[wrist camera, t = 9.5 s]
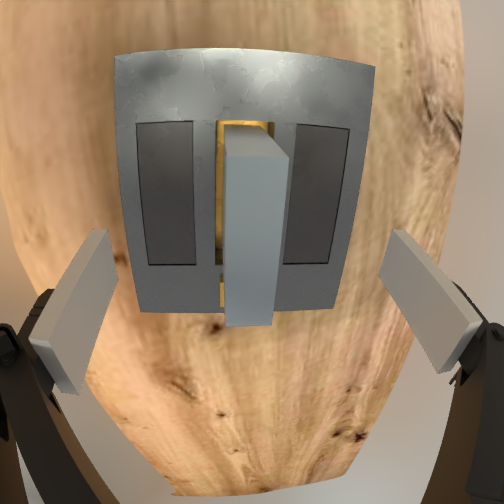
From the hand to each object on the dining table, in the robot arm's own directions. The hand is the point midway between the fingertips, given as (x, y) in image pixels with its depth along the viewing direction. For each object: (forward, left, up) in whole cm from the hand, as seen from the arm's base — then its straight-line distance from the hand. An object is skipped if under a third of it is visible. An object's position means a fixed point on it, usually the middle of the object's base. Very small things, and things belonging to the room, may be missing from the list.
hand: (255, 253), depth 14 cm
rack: (0, 0, -11) cm, 11 cm away
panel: (0, 0, -10) cm, 10 cm away
